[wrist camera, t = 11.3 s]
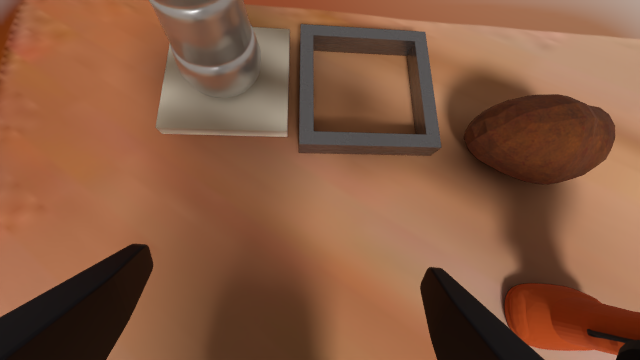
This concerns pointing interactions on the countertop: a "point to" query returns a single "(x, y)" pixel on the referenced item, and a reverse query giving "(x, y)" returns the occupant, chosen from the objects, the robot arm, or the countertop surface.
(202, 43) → the plastic bottle
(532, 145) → the potato
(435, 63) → the countertop surface
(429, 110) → the collar
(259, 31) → the board
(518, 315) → the toy drill
